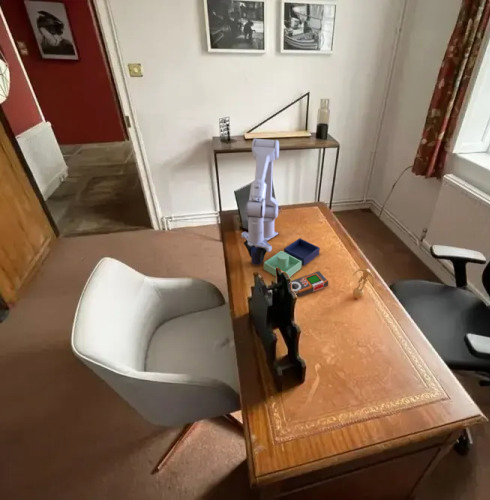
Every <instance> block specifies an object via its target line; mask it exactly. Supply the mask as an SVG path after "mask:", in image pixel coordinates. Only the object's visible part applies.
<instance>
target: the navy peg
mask: <svg viewBox="0 0 490 500" xmlns="http://www.w3.org/2000/svg"><path fill="white" fill-rule="evenodd" d="M258 248H259V247H258V246H255V247H253V248H252V249H251V257H250V261H251V264H252V265H254V266H259V265H261V264H262V263H263V261H262V262H259V261H258V254H257V252H256V249H258Z"/></svg>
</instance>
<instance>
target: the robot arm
mask: <svg viewBox="0 0 490 500" xmlns="http://www.w3.org/2000/svg"><path fill="white" fill-rule="evenodd" d="M251 153H252V155H253V159H254V160H255V173H254V180H253V181H252V182H251V184H250V190H249V196H248V201H246V204H245V216H246V221H247V227H248V232H247V231H243V232H241V233H240V235H241V238H242V239H245V241H244V242H243V245H244V246H245V248H246V250H247V252H248V255H249V257H250V258H251V249H252V248H253V247H256V246H257V247H259V248H258V249H256V252H257V254H258V261H259V262H262V263H263V262H264V260H265V257H266V254H267V253H270V252H271V251H272V250H273V245H271V244H270V243H269V240H271V239H273V238H275V236H277V235H279V232H278V231H275V221H276V219H277V218H278V216H279V201H278V200H277V199H276V198H274V197H273V174H274V173H273V172H274V162H275V160H278V159H279V157H280V141H279V140H278V139H266V138H265V139H264V138H253V140H252V141H251Z"/></svg>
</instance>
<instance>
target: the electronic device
mask: <svg viewBox="0 0 490 500" xmlns="http://www.w3.org/2000/svg"><path fill="white" fill-rule="evenodd" d="M290 283H292V289H293V291H294V292H295V293H296V294H295V295H297V296H298V297H303V296H305V295H307V294H310V293H315V292H317V291H319V290H322V289H324V288H326V287H328V286H329V280H328V279H327V278H326V277H325V276H324V275H323V274H322V273H321V271H319V270H318V271H314V272H312V273H310V274H307V275H304V276H300V277H298V278H295V279H294V280H290Z"/></svg>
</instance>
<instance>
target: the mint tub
mask: <svg viewBox="0 0 490 500" xmlns="http://www.w3.org/2000/svg"><path fill="white" fill-rule="evenodd" d="M279 253H285V252H284V250H280V251H278V252H277V253H276V254H274V255H272V256H271V257H269V258H268V259H266V260H265V261H263V270H264V271H266V272H267V273H269V274H271V275H272V276H275V277H276V268H277V256H278V254H279ZM288 255H289V254H288ZM302 266H303V265H302V261H300V260H298V259H296V258H294V257H292V256H291V255H289V262H288V270H286V271H284V272H286V273H287V274H288V275H289V278H291V277H292V276H293V275H295V274H296V273H297V272H298V271H299V270H301V269H302Z"/></svg>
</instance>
